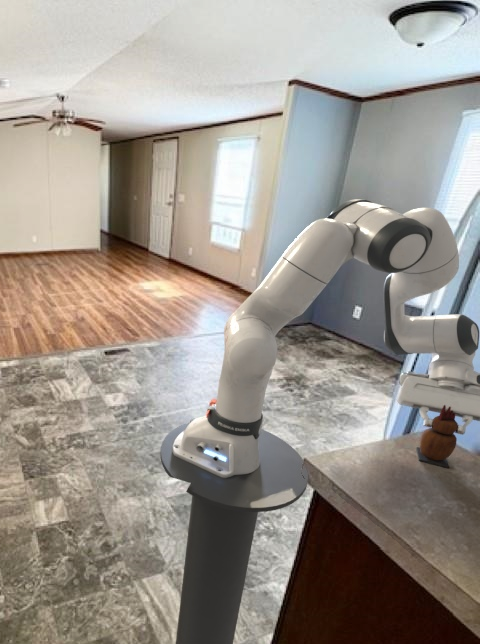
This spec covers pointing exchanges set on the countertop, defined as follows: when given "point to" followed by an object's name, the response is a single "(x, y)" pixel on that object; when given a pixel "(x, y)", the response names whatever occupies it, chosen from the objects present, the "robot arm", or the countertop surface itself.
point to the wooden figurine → (440, 436)
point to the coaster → (435, 462)
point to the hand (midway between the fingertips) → (443, 429)
